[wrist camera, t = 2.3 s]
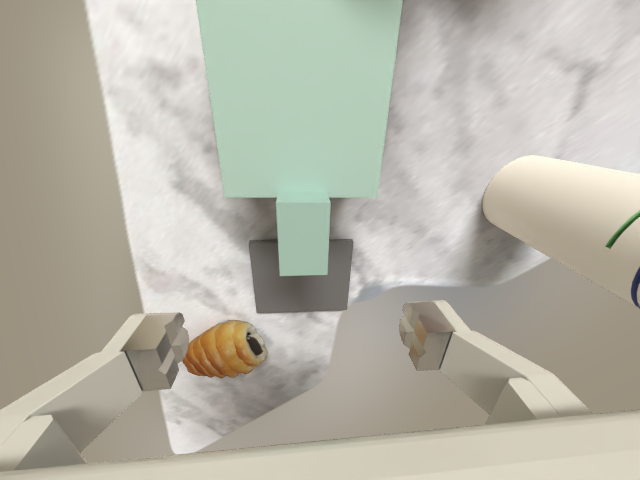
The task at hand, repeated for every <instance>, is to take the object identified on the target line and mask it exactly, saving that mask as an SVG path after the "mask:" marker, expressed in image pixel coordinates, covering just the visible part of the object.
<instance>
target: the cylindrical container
mask: <svg viewBox="0 0 640 480" xmlns="http://www.w3.org/2000/svg"><path fill="white" fill-rule="evenodd" d="M482 206H483V212H484V215H485V217H486V218H487V220H488V221H489V222H490V223H492V224H493V225H495V226H497V227H498V228H500V229H502V230H504V231H505V232H507V233H509V234H511V235H512V236H514V237H516V238H518V239H519V240H521V241H523V242H524V243H526V244H528V245H530V246H531V247H533V248H535V249H537V250H538V251H540V252H542V253H544V254H545V255H547V256H549V257H551V258H552V259H554V260H556V261H558V262H559V263H561V264H563V265H565V266H566V267H568V268H570V269H571V270H573V271H575V272H577V273H578V274H580V275H582V276H584V277H585V278H587V279H589V280H591V281H592V282H594V283H596V284H598V285H599V286H601V287H603V288H604V289H606V290H608V291H610V292H612V293H613V294H615V295H617V296H618V297H620V298H622V299H624V300H625V301H627V302H629V303H631V304H632V305H634V306H636V307H638V308H639V309H640V174H636V173H631V172H625V171H620V170H614V169H609V168H603V167H598V166H592V165H587V164H581V163H576V162H570V161H565V160H559V159H553V158H548V157H542V156H536V155H531V156H525V157H521V158H518V159H516V160H514V161H512V162H510V163H509V164H507V165H505V166H504V167H503V168H502V169H501V170H500V171H498V173H497V174H496V175H495V176H494V177H493V178H492V180H491V181H490V183H489V184H488V186H487V188H486V191H485V193H484V197H483V205H482Z"/></svg>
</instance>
